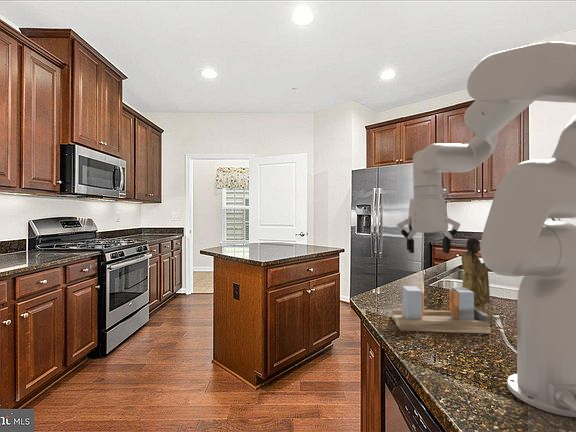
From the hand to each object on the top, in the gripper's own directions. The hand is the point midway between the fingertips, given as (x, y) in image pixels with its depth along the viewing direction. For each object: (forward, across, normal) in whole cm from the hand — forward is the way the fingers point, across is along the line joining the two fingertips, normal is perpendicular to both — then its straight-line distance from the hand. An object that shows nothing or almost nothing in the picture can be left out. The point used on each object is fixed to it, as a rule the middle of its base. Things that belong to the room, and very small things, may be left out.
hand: (428, 252), depth 93 cm
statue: (+22, -20, -16) cm, 34 cm away
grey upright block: (+20, +4, -4) cm, 21 cm away
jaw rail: (+22, -3, -4) cm, 22 cm away
